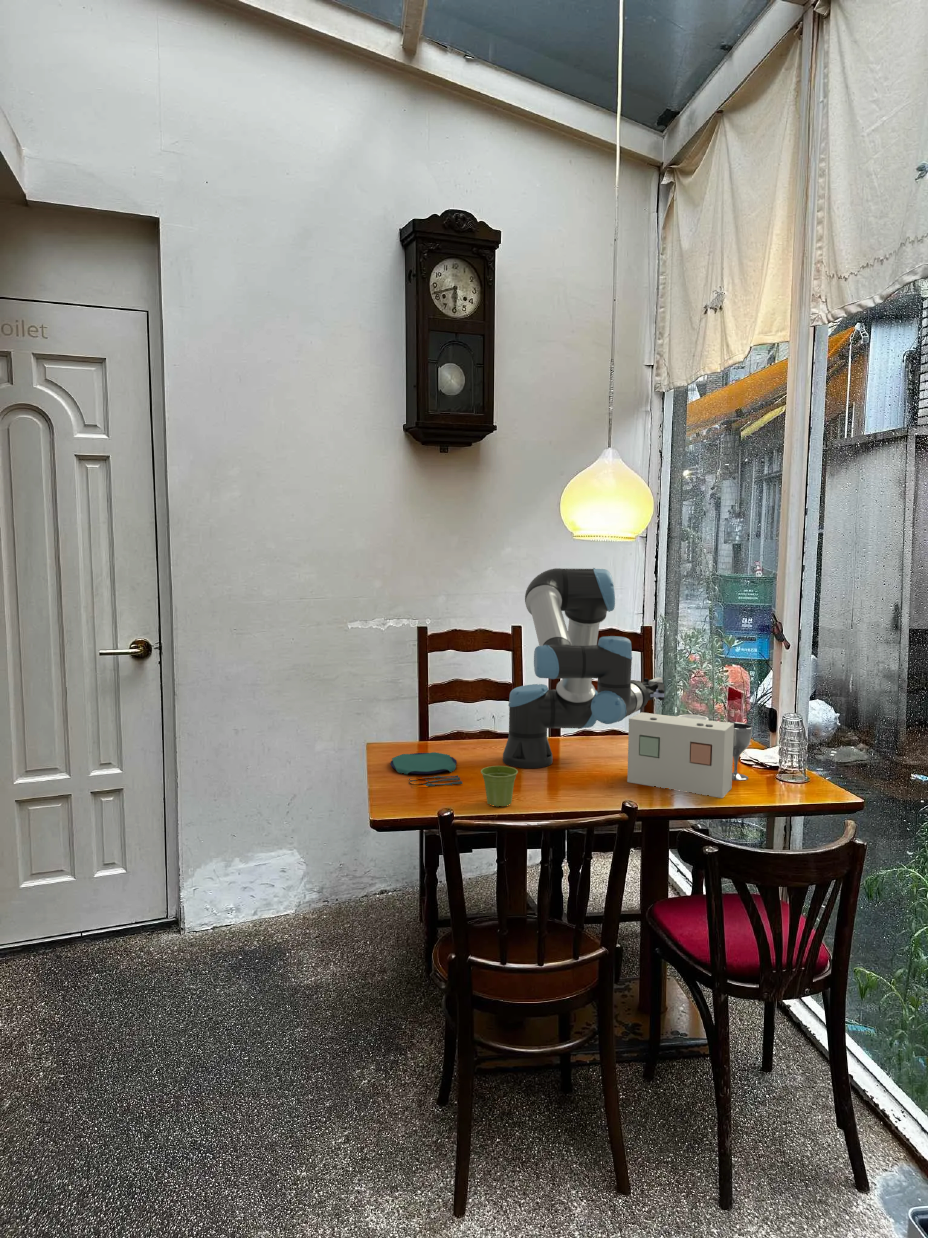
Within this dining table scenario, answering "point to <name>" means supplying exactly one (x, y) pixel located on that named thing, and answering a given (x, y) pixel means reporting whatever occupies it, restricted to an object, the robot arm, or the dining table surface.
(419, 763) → the cutlery set
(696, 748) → the terracotta button
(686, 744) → the console
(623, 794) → the dining table surface
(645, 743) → the sage button
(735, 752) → the wine glass
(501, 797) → the plant pot
